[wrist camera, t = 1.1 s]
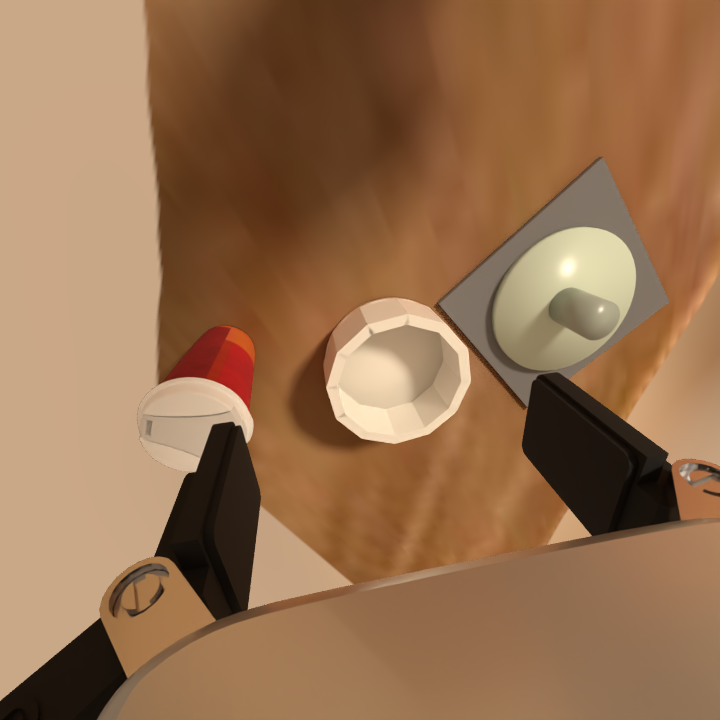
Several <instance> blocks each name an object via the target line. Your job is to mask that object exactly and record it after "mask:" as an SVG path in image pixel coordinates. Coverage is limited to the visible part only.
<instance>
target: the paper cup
mask: <svg viewBox="0 0 720 720" xmlns="http://www.w3.org/2000/svg"><path fill="white" fill-rule="evenodd" d="M254 362H255V349H254V345H253V342H252V340H251V339H250V337H249V336H248V335H247V334H246V333H244V332H243V331H242V330H240V329H238V328H235V327H232V326H217V327H214V328H212V329H210V330H208V331H207V332H206V333H204V334H203V335H202V336H201V337H200V339H199V340H198V341H197V342H196V343H195V344H194V345H193V347H192V348H191V349H190V350H189V351H188V352H187V354H186V355H185V356H184V357H183V358H182V359H181V361H180V362H179V363H178V364H177V365H176V366H175V368H174V369H173V370H172V371H171V373H170V374H169V375H168V376H167V378H166V379H165V380H164V381H163V383H161V384H159V385H157V386H156V387H154V388H153V389H152V390H151V391H150V392H148V393H147V394H146V396H145V397H144V398H143V400H142V401H141V403H140V406H139V408H138V413H137V423H138V428H139V431H140V437H139V439H140V442H141V444H142V446H143V447H144V449H145V450H146V452H147V453H148V454H149V455H150V456H151V457H152V458H154V459H155V460H156V461H158V462H159V463H161V464H163V465H165V466H167V467H170V468H172V469H175V470H180V471H185V472H196V470H197V467H198V464H199V461H200V458H201V456H202V453H203V450H204V447H205V444H206V442H207V439H208V436H209V433H210V430H211V427H212V425H214V424H219V423H225V422H234V424H235V426H237V425H241V427H242V429H243V433H244V436H245V440H246V443H248V442H249V441H250V439H251V436H252V433H253V419H252V417H251V415H250V413H249V407H250V398H251V390H252V381H253V372H254Z"/></svg>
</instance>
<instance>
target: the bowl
mask: <svg viewBox="0 0 720 720" xmlns="http://www.w3.org/2000/svg"><path fill="white" fill-rule="evenodd" d="M323 366H324V374H325V382H326V389H327V392H328V395H329V398H330V401H331V404H332V407H333V411H334V414H335V417H336V419H337V420H338V421H339V422H341V423H342V424H343V425H345V426H346V427H347V428H348V429H350V430H351V431H352V432H354V433H355V434H356V435H357V436H359V437H360V438H362V439H367V440H373V441H380V442H386V443H393V444H396V443H399V442H403V441H407V440H410V439H414V438H417V437H421V436H424V435H428V434H430V433H431V432H432V431H433V430H435V429H436V428H437V427H438V426H440V425H441V424H442V423H443V422H445V421H446V420H447V419H448V418H450V417H451V416H452V415H453V414H454V413H456V411H457V409H458V407H459V405H460V403H461V401H462V399H463V397H464V395H465V393H466V391H467V389H468V387H469V385H470V383H471V377H470V366H469V355H468V348H467V347H466V346H465V345H464V344H463V343H462V342H461V340H460V339H459V338H458V337H457V336H456V335H455V334H454V332H453V331H452V330H451V329H450V328H449V327H448V326H447V324H446V323H445V322H444V321H443V320H442V319H441V318H439V317H438V316H437V315H436V314H435V313H434V312H433V311H432V310H431V309H430V308H429V307H428V306H425V305H422V304H420V303H418V302H416V301H413V300H410V299H406V298H401V297H385V298H379V299H375V300H372V301H369V302H366V303H364V304H362V305H360V306H358V307H356V308H355V309H353V310H352V311H350V312H349V313H348V314H347V315H346V316H344V317H343V319H342V320H341V321H340V322H339V323H338V324H337V326H336V327H335V329H334V330H333V332H332V334H331V336H330V338H329V341H328V343H327V347H326V352H325V359H324V363H323Z"/></svg>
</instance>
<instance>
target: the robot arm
mask: <svg viewBox="0 0 720 720" xmlns="http://www.w3.org/2000/svg"><path fill="white" fill-rule="evenodd" d="M522 448H523V452H524V454H525V455H526V456H527V458H528V459H529V460H530V461H531V463H532V464H533V465H534V466H535V467H536V469H537V470H538V471H539V472H540V473H541V475H542V476H543V477H544V478H545V480H546V481H547V482H548V483H549V484H550V486H551V487H552V488H553V489H554V490H555V492H556V493H557V494H558V495H559V496H560V498H561V499H562V500H563V501H564V503H565V504H566V505H567V506H568V507H569V509H570V510H571V511H572V512H573V513H574V515H575V516H576V517H577V518H578V520H579V521H580V522H581V523H582V524H583V525H584V527H585V528H586V529H587V530H588V531H589V533H590V534H591V535H592V536H591V537H586V538H581V539H576V540H571V541H566V542H560V543H556V544H550V545H545V546H540V547H535V548H530V549H525V550H520V551H515V552H510V553H505V554H500V555H495V556H490V557H485V558H480V559H475V560H471V561H466V562H461V563H456V564H451V565H446V566H441V567H436V568H431V569H426V570H422V571H417V572H412V573H407V574H402V575H398V576H393V577H388V578H383V579H378V580H374V581H369V582H364V583H359V584H354V585H350V586H345V587H340V588H336V589H332V590H327V591H322V592H318V593H313V594H309V595H305V596H300V597H296V598H291V599H287V600H282V601H278V602H274V603H270V604H267V605H263V606H260V607H256V608H252V609H249V610H247V609H248V602H249V593H250V585H251V577H252V568H253V560H254V552H255V543H256V534H257V526H258V518H259V510H260V501H261V496H260V489H259V485H258V482H257V478H256V475H255V471H254V468H253V464H252V461H251V457H250V454H249V450H248V447H247V443H246V440H245V436H244V433H243V429H242V427H241V425H237V426H235V424H234V422H225V423H219V424H214V425H212V427H211V430H210V433H209V436H208V439H207V442H206V444H205V447H204V450H203V453H202V456H201V458H200V461H199V464H198V467H197V470H196V472H193V473H188V474H187V475H186V477H185V478H184V480H183V483H182V486H181V488H180V491H179V493H178V496H177V499H176V501H175V504H174V506H173V509H172V512H171V514H170V517H169V519H168V522H167V525H166V527H165V530H164V533H163V535H162V538H161V540H160V543H159V545H158V548H157V551H156V553H155V556H154V557H151V558H147V559H145V560H142V561H139V562H137V563H136V564H134V565H132V566H131V567H129V568H127V569H126V570H125V571H124V572H123V573H121V574H120V575H119V576H118V577H117V578H116V579H115V580H114V581H113V583H112V584H111V585H110V586H109V587H108V589H107V591H106V593H105V594H104V596H103V598H102V601H101V606H100V616H101V618H99V619H98V620H97V621H96V622H95V623H93V624H92V625H91V626H90V627H89V628H87V629H86V630H85V631H84V632H83V633H81V634H80V635H79V636H78V637H77V638H75V639H74V640H73V641H72V642H71V643H69V644H68V645H67V646H66V647H65V648H63V649H62V650H61V651H60V652H59V653H57V654H56V655H55V656H54V657H53V658H51V659H50V660H49V661H48V662H47V663H45V664H44V665H43V666H42V667H41V668H39V669H38V670H37V671H36V672H34V673H33V674H32V675H31V676H30V677H28V678H27V679H26V680H25V681H24V682H23V683H21V684H20V685H19V686H18V687H16V688H15V689H14V690H13V691H12V692H10V693H9V694H8V695H7V696H6V697H4V698H3V699H2V700H1V701H0V720H720V466H718V465H716V464H713V463H709V462H706V461H702V460H696V459H682V460H678V461H676V462H675V463H674V464H673V465H671V464H670V463H668V462H667V461H666V459H667V456H668V453H667V452H666V451H665V450H663V449H662V448H661V447H659V446H658V445H656V444H655V443H654V442H652V441H651V440H650V439H648V438H647V437H646V436H644V435H643V434H642V433H640V432H639V431H637V430H636V429H635V428H633V427H632V426H631V425H629V424H628V423H627V422H625V421H624V420H623V419H621V418H620V417H619V416H617V415H616V414H614V413H613V412H612V411H610V410H609V409H608V408H606V407H605V406H604V405H602V404H601V403H600V402H598V401H597V400H595V399H594V398H593V397H591V396H590V395H589V394H587V393H586V392H585V391H583V390H582V389H581V388H579V387H578V386H577V385H575V384H574V383H572V382H571V381H570V380H568V379H567V378H566V377H564V376H563V375H562V374H560V373H558V372H553V373H546V374H540V375H538V376H537V378H536V380H533V382H532V385H531V391H530V397H529V404H528V410H527V416H526V422H525V429H524V435H523V441H522Z"/></svg>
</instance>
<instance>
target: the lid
mask: <svg viewBox="0 0 720 720" xmlns="http://www.w3.org/2000/svg"><path fill="white" fill-rule="evenodd" d="M635 285H636V268H635V264H634V259H633V257H632V254H631V252H630V250H629V249H628V247H627V245H626V244H625V243H624V242H623V241H622V240H621V239H620V238H618V237H617V236H616V235H614V234H612V233H610V232H608V231H606V230H602V229H599V228H592V227H583V226H582V227H570V228H565V229H562V230H559V231H556V232H553V233H551V234H549V235H547V236H545V237H543V238H541V239H540V240H538V241H537V242H535V243H534V244H532V245H531V246H530V247H529V248H527V249H526V250H525V251H524V252H523V253H522V254H521V255H520V256H519V257H518V258H517V259H516V260H515V261H514V263H513V264H512V265H511V266H510V268H509V269H508V271H507V272H506V274H505V275H504V277H503V279H502V281H501V283H500V285H499V287H498V290H497V292H496V295H495V299H494V302H493V309H492V328H493V332H494V336H495V339H496V341H497V343H498V345H499V346H500V348H501V349H502V351H503V352H504V353H505V354H506V355H507V356H508V357H509V358H511V359H512V360H513V361H515V362H516V363H517V364H519V365H521V366H523V367H526V368H529V369H533V370H539V371H548V370H556V369H561V368H565V367H568V366H571V365H573V364H575V363H577V362H580V361H581V360H583V359H585V358H587V357H588V356H590V355H591V354H592V353H594V352H595V351H597V350H598V349H599V348H600V347H601V346H602V345H604V344H605V343H606V342H607V341H608V339H609V338H610V337H611V336H612V335H613V334H614V333H615V331H616V330H617V329H618V327H619V326H620V324H621V323H622V321H623V319H624V318H625V316H626V314H627V312H628V310H629V307H630V305H631V302H632V299H633V296H634V291H635Z"/></svg>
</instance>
